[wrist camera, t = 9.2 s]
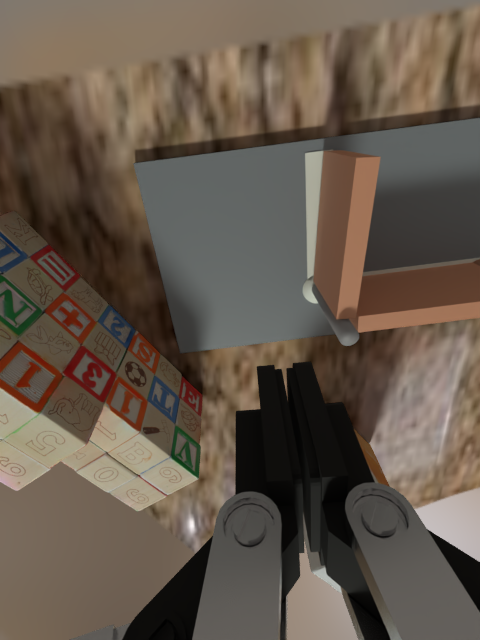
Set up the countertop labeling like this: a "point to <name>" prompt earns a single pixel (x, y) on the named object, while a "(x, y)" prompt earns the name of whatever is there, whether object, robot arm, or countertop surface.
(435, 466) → the countertop surface
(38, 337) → the stack of blocks
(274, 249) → the board
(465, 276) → the fixed fence panel
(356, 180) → the hinged fence panel
